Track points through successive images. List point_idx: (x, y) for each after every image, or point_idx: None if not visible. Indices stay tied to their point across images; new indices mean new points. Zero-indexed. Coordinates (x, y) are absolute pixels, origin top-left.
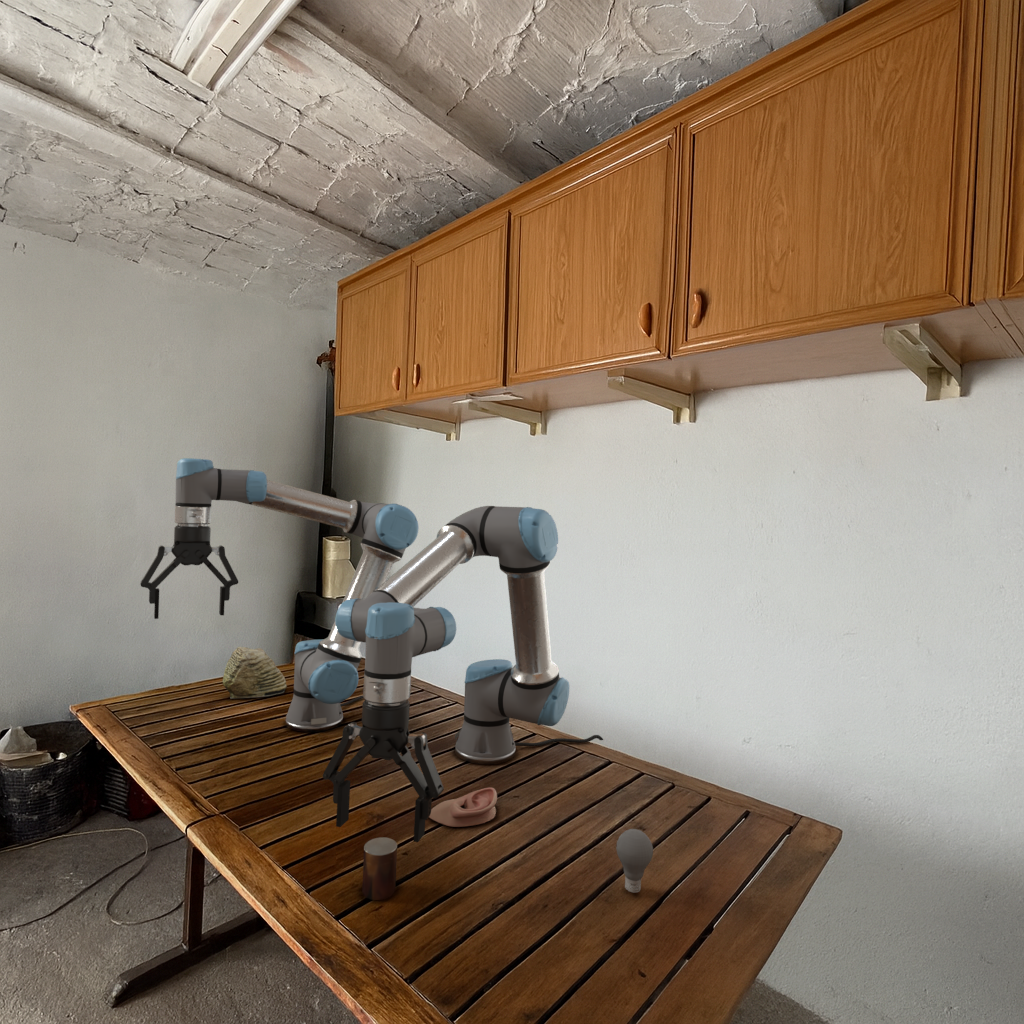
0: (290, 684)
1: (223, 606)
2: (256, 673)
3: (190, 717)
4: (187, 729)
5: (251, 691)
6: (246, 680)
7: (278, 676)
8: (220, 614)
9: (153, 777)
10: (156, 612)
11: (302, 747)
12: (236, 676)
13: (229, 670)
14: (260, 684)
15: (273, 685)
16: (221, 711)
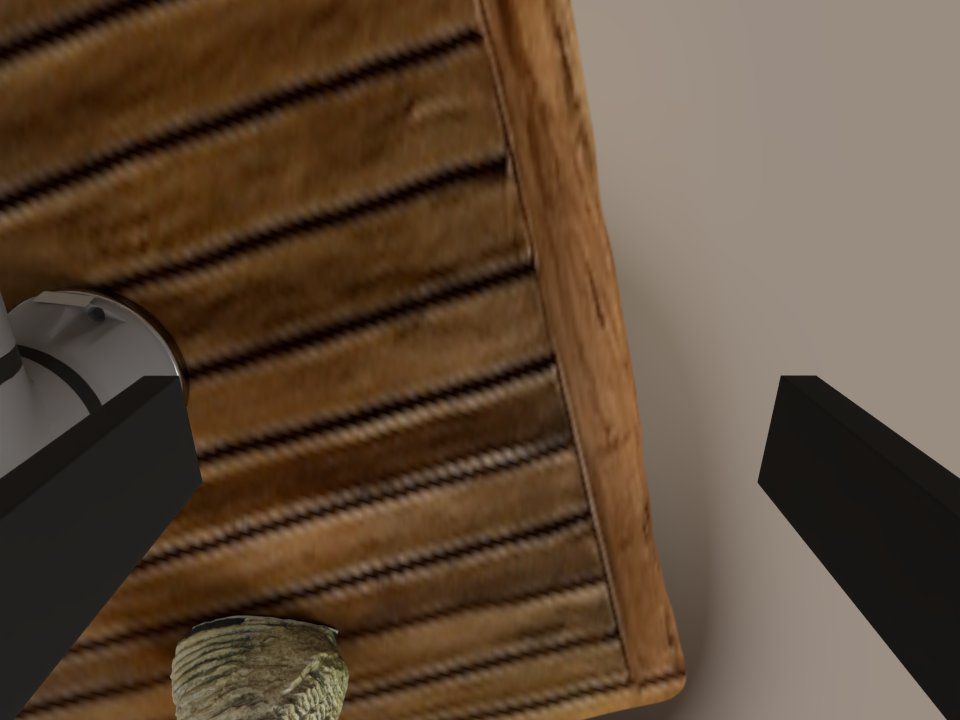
0: None
1: (88, 420)
2: (241, 675)
3: (444, 536)
4: (457, 454)
5: (275, 631)
6: (278, 657)
7: (184, 672)
8: (176, 390)
9: (567, 132)
10: (840, 407)
11: (139, 179)
12: (303, 670)
13: (321, 706)
14: (243, 646)
15: (209, 644)
16: (364, 551)
